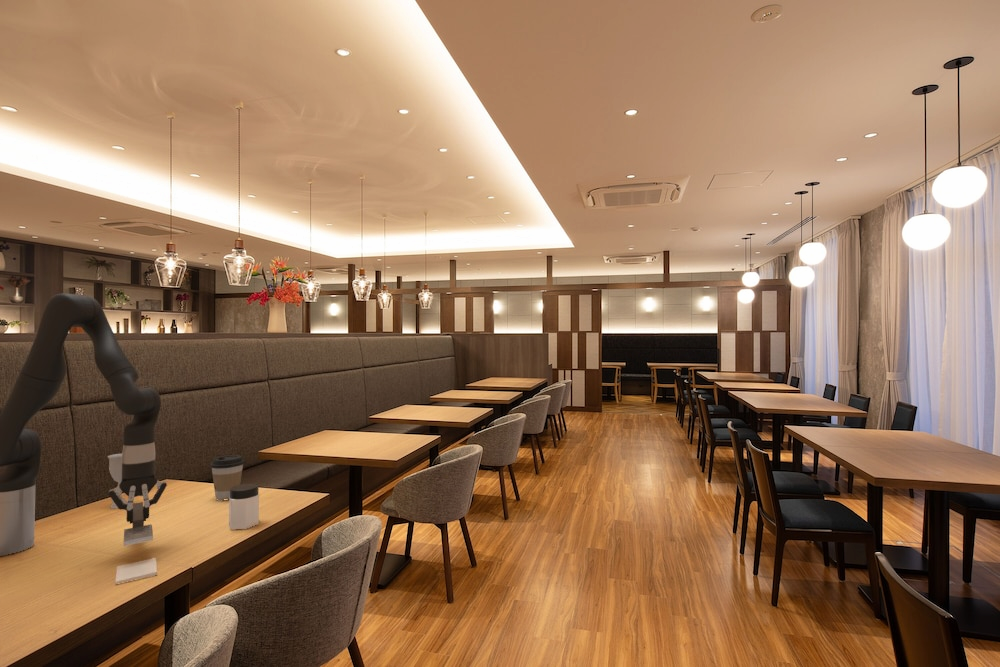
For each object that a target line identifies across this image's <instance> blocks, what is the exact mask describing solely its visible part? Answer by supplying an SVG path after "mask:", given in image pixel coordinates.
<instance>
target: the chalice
mask: <svg viewBox="0 0 1000 667" xmlns="http://www.w3.org/2000/svg"><path fill="white" fill-rule="evenodd" d="M107 458H108V460H109V461H108V462H109V464H108V471H109V473H110V475H111V477H112V479H113V481H114V482H117V486H116V487H118V486H119V485H120V483H121V481H122V453H115V454H109V455H107ZM119 492H120V494H119V495H118V496H119V497H120V499H121V500H122V502H123V503H124V504H127V502H128V500H127V499H125V498H123V497H122V493H123V491H122V490H120V491H119ZM110 509H119V508H118V507H117V506H116V504H115V503H114V501H113V500H112V503H111V505H110Z"/></svg>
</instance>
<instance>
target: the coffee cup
mask: <svg viewBox="0 0 1000 667" xmlns="http://www.w3.org/2000/svg"><path fill="white" fill-rule="evenodd" d="M244 464H245V459H243V457H242V456H241V455H240V454H235V455H234V454H230V455H229V454H228V455H220V456H217V457H214V458H213V459H212V462H211V463H210V466H209V468H210V469H211V472H212V481H213V488H214V495H215V499H218V500H224V499H229V496H230V488H232V487H234V486H237V485H241V482H242V474H243V468H244V467H243V466H244ZM218 500H217V501H218Z"/></svg>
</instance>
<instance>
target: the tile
mask: <svg viewBox="0 0 1000 667" xmlns="http://www.w3.org/2000/svg"><path fill="white" fill-rule="evenodd" d="M157 567H158V566H157V558H156V557H152V558H148V559H144V560H139V561H136V562H135V561H134V562H131V563H127V564H122V565H118V566H116V575H115V585H116V584H118V583H122V582H127V581H131V580H135V579H140V578H145V577H149V578H151V576H153V577H156V576H155V575H157V576H158V568H157ZM145 579H146V578H145ZM140 580H141V579H140Z"/></svg>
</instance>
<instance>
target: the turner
mask: <svg viewBox="0 0 1000 667" xmlns="http://www.w3.org/2000/svg"><path fill="white" fill-rule="evenodd" d="M143 506H144V501H140V502H139V501H138V502H133V506H132V508H133V523H132V527H131V528H125V529H123V547H127V546H133V545H135V544H136V545H137V544H141V543H145V542H151V541H153V540H154V533H153V524H145V521H144V513H143Z"/></svg>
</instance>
